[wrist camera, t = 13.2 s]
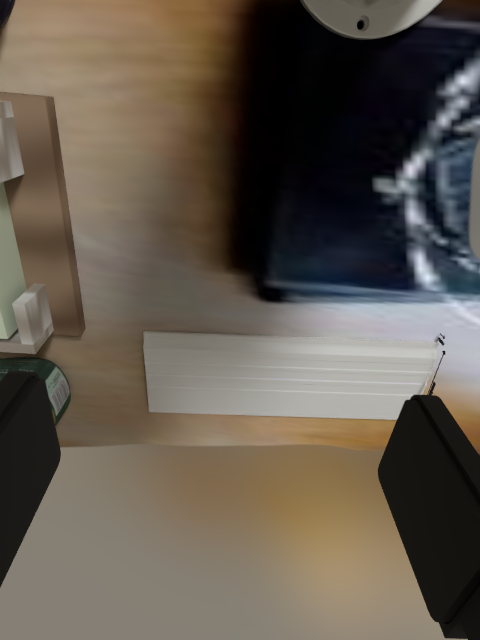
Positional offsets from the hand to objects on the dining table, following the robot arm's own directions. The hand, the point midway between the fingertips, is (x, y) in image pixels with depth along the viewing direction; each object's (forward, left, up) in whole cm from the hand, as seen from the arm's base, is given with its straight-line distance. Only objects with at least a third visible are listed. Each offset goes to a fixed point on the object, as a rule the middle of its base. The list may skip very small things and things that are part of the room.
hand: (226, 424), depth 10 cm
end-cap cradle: (+4, -20, -26) cm, 33 cm away
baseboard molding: (+18, +8, -27) cm, 34 cm away
